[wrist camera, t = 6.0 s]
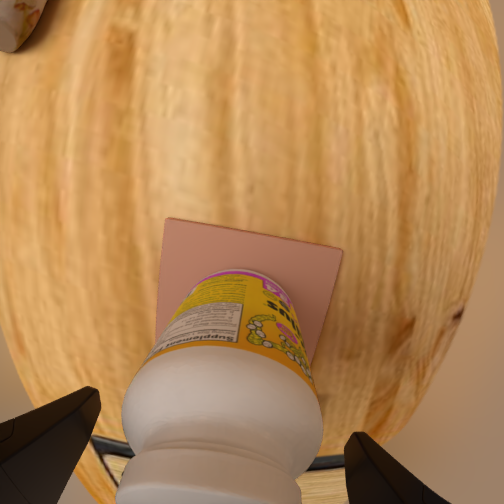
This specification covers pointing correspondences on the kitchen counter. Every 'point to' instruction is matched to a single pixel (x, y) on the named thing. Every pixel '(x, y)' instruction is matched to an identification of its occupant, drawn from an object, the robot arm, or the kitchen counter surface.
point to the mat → (249, 258)
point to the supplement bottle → (223, 401)
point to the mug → (18, 21)
